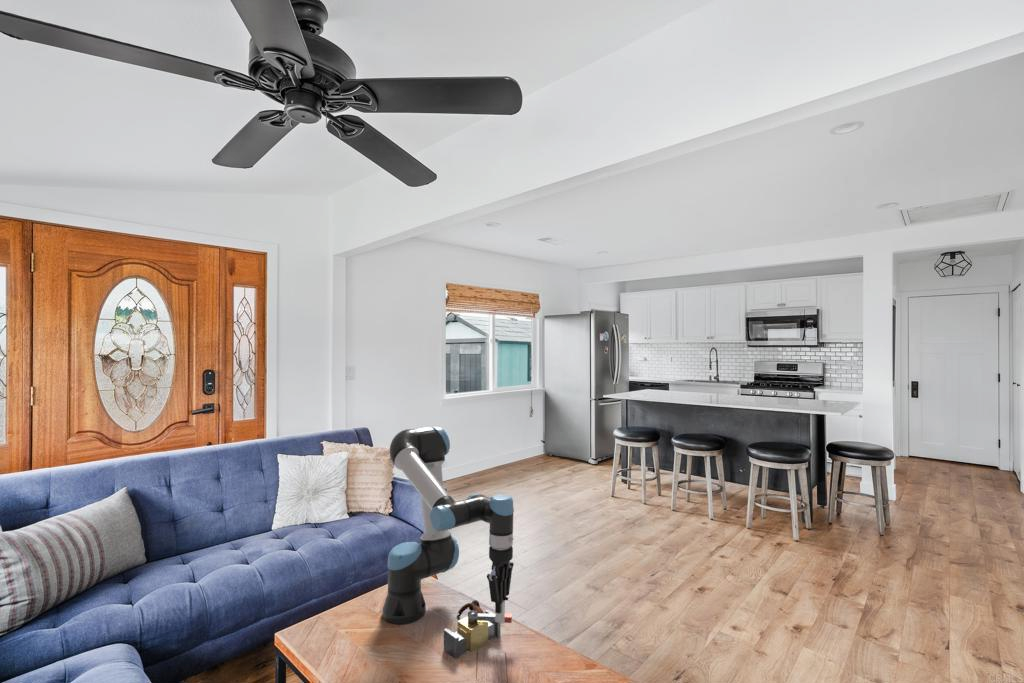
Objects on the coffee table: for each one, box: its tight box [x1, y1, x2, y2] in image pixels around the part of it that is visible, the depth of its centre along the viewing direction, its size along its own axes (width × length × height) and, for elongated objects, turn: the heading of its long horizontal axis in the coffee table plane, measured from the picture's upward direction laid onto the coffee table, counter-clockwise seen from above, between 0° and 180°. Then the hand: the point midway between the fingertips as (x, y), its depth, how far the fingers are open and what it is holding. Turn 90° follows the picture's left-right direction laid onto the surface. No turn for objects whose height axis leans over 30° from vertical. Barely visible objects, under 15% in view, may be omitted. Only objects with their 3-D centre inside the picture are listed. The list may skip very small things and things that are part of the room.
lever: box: [467, 610, 513, 624], centre depth 159 cm, size 14×3×2 cm, turn 86°
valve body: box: [443, 609, 502, 661], centre depth 159 cm, size 7×18×7 cm, turn 132°
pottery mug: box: [456, 599, 484, 622], centre depth 170 cm, size 12×10×8 cm
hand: (499, 621), depth 156 cm, fingers closed
